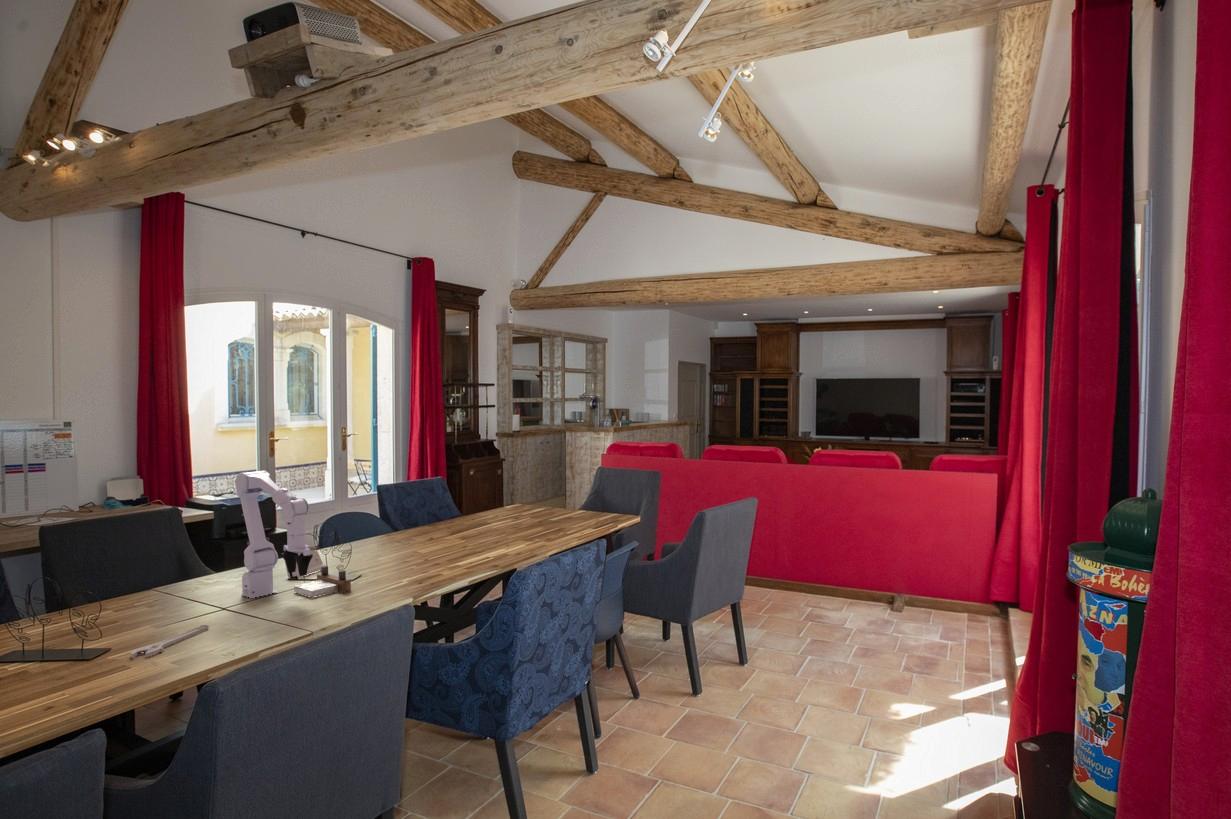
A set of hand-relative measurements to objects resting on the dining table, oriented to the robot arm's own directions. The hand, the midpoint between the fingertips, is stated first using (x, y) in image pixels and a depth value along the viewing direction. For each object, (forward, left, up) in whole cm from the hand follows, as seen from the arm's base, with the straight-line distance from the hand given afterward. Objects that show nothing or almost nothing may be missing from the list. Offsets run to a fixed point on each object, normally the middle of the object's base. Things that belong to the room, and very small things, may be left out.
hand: (297, 573), depth 242 cm
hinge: (+22, +36, -10) cm, 43 cm away
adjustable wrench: (-42, -11, -10) cm, 45 cm away
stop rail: (+17, +6, -10) cm, 20 cm away
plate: (+10, +6, -10) cm, 15 cm away
